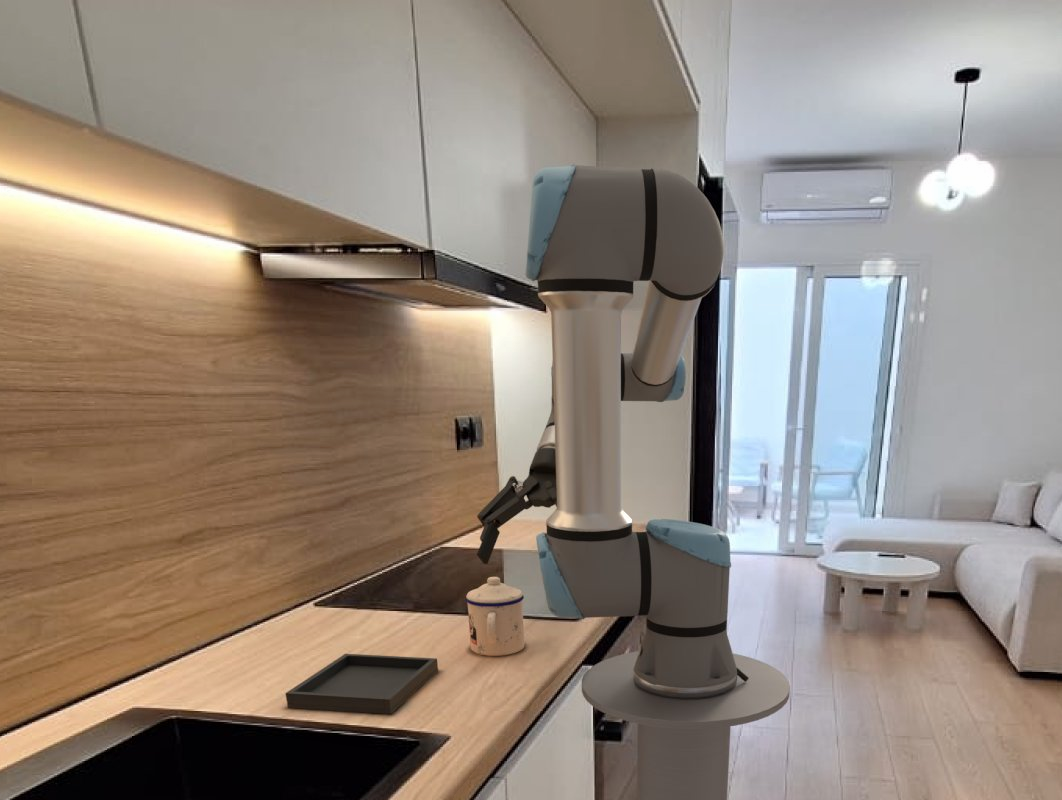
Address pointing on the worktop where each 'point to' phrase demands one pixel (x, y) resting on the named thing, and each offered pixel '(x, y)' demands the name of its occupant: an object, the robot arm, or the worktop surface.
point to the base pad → (363, 683)
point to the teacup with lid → (495, 619)
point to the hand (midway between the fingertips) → (517, 563)
